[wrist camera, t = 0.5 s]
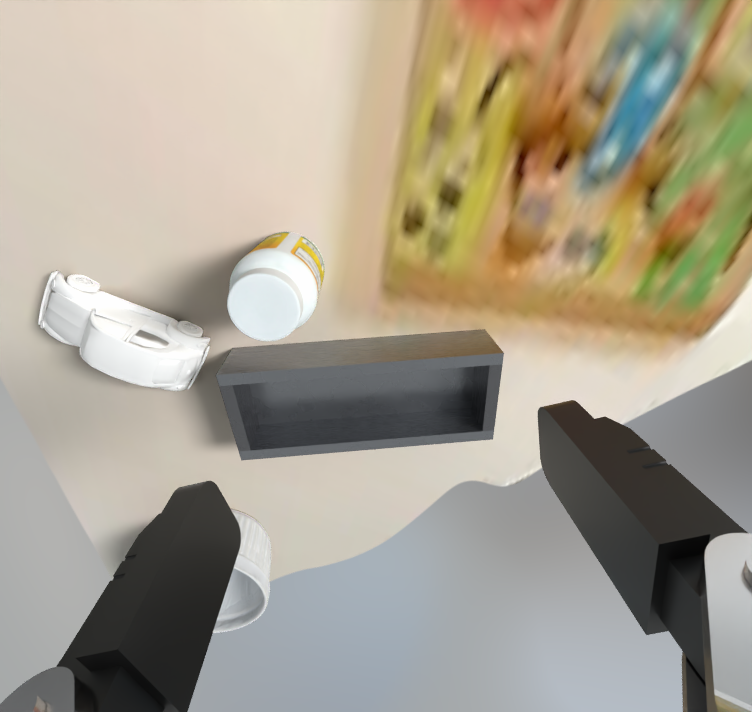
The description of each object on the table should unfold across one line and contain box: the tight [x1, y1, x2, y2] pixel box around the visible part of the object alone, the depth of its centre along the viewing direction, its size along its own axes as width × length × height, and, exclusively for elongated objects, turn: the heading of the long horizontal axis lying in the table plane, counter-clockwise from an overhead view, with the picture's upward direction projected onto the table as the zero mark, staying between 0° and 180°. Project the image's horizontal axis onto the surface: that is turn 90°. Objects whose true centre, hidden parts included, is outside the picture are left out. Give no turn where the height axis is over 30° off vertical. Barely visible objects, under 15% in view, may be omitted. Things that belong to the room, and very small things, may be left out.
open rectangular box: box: [216, 330, 504, 460], centre depth 32 cm, size 9×22×4 cm, turn 93°
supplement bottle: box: [227, 232, 324, 341], centre depth 24 cm, size 5×5×10 cm
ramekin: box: [213, 509, 271, 633], centre depth 40 cm, size 13×13×7 cm
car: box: [38, 270, 211, 391], centre depth 29 cm, size 12×6×5 cm, turn 57°
